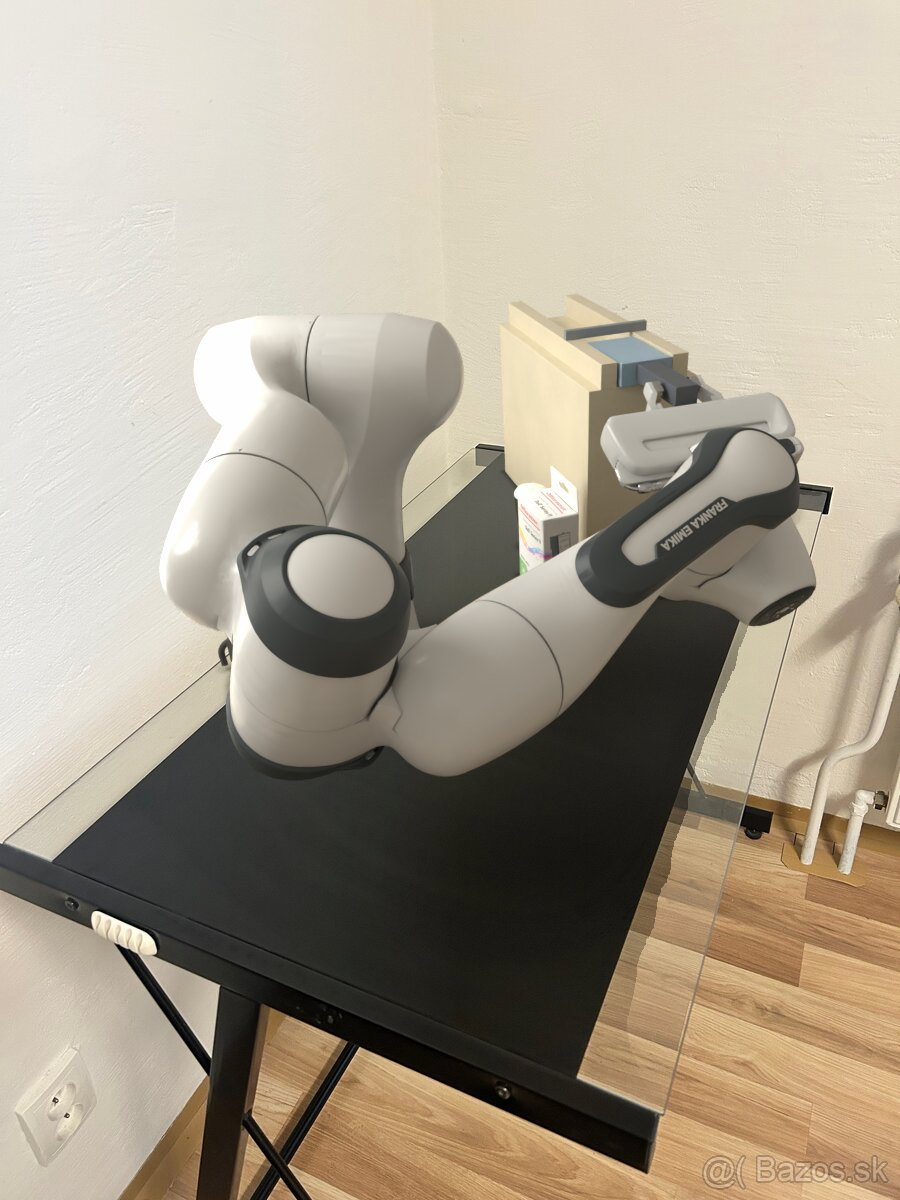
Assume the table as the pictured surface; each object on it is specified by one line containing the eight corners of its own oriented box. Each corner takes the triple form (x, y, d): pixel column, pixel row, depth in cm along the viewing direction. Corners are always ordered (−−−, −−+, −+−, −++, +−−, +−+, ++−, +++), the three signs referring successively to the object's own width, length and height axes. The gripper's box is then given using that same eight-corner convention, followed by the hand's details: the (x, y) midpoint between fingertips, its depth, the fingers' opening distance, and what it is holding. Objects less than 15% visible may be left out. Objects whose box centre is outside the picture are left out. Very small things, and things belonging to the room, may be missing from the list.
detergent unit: (586, 570, 115) (589, 356, 101) (505, 471, 146) (498, 295, 131) (684, 552, 118) (701, 340, 103) (584, 458, 148) (586, 284, 134)
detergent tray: (658, 413, 95) (660, 388, 93) (585, 363, 113) (585, 341, 111) (712, 405, 96) (715, 379, 95) (631, 356, 114) (632, 334, 112)
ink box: (517, 574, 116) (514, 470, 108) (552, 567, 117) (551, 462, 109) (543, 606, 109) (541, 496, 101) (580, 597, 110) (581, 488, 102)
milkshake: (552, 554, 120) (552, 486, 115) (513, 553, 121) (511, 486, 116) (556, 539, 124) (555, 473, 118) (518, 538, 125) (515, 472, 120)
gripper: (618, 514, 92) (577, 415, 99) (794, 483, 96) (743, 389, 102) (633, 476, 87) (588, 374, 93) (819, 445, 90) (763, 349, 97)
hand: (670, 382), depth 98 cm, fingers open, 3 cm apart
